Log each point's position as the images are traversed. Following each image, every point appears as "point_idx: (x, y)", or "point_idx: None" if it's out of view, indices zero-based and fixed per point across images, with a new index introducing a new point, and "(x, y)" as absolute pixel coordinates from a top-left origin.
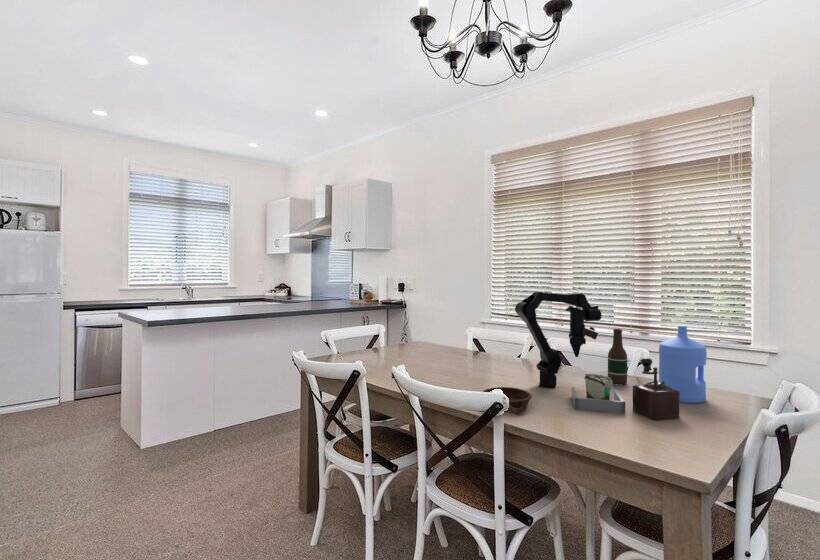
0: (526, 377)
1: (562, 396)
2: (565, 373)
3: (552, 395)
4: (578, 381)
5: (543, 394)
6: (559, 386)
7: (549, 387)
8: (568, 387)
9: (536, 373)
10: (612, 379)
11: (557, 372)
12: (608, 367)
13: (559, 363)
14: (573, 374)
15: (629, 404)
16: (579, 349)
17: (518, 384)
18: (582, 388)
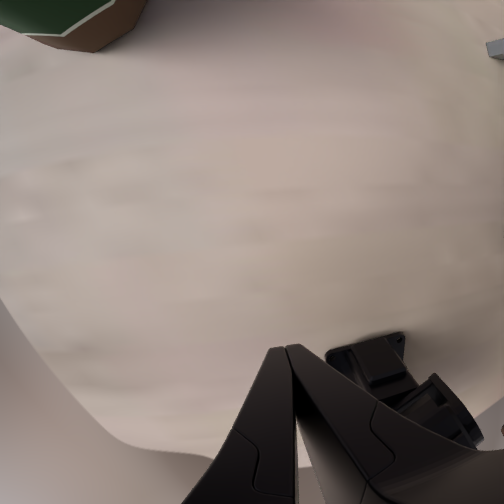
0: None
1: (501, 274)
2: (29, 324)
3: (493, 311)
4: (172, 234)
5: (484, 342)
6: (355, 321)
7: (401, 355)
8: (361, 274)
9: (128, 440)
10: (132, 9)
11: (437, 375)
12: (55, 15)
13: (465, 407)
14: (21, 282)
15: (500, 14)
16: (389, 414)
17: None
18: (354, 193)
